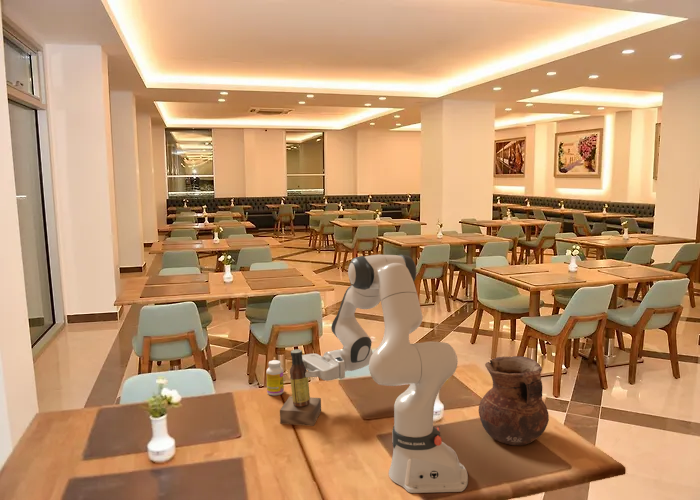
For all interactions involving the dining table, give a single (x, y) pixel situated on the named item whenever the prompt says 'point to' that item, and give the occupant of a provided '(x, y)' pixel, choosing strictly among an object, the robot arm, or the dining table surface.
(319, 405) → the walnut block
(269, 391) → the supplement bottle
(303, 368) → the sauce bottle
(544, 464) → the dining table surface
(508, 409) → the jug
